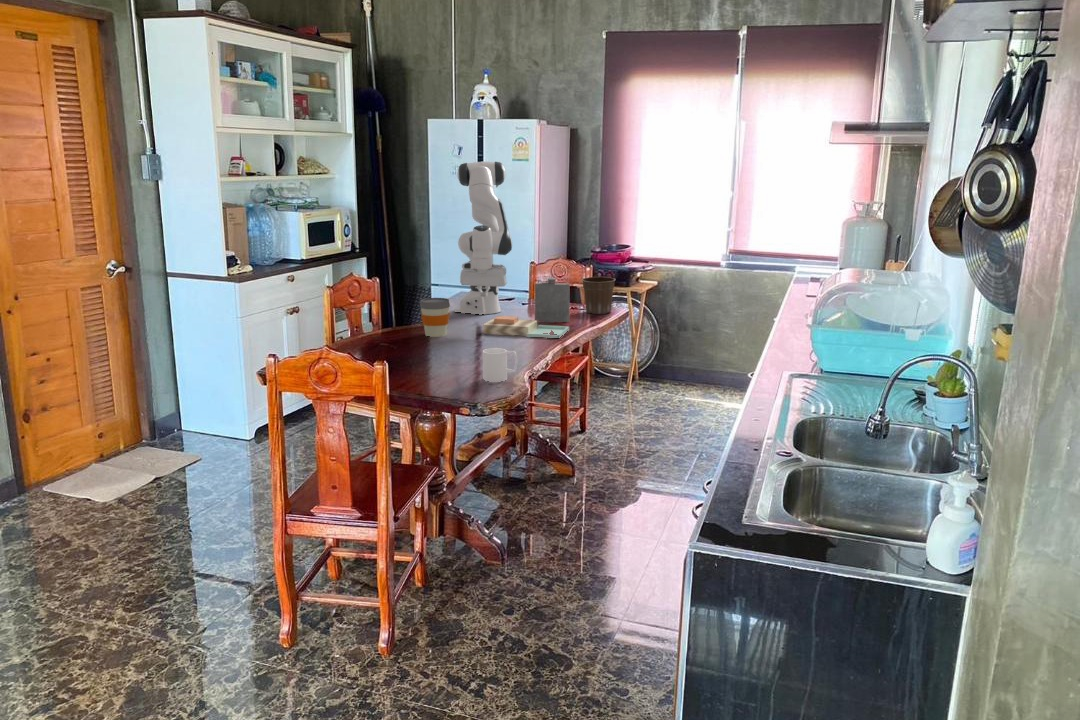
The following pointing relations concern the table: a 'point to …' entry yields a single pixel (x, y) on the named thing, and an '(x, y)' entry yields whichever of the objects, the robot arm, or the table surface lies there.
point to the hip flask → (552, 301)
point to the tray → (547, 329)
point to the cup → (496, 364)
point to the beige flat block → (510, 327)
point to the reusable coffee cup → (435, 316)
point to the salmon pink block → (505, 320)
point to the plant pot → (598, 294)
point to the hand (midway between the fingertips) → (483, 296)
